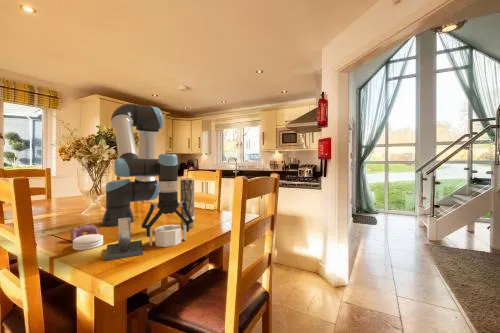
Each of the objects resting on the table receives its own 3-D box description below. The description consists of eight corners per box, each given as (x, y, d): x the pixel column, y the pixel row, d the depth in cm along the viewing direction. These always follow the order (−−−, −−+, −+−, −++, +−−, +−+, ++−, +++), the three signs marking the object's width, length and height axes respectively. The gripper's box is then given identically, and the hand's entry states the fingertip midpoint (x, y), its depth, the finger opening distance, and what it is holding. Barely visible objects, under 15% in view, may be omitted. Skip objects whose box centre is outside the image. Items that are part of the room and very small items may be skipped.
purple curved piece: (97, 239, 105) (96, 224, 107) (100, 237, 102) (98, 221, 104) (70, 245, 98) (69, 228, 100) (71, 242, 95) (70, 226, 97)
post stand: (107, 248, 90) (107, 216, 90) (141, 243, 95) (141, 213, 95) (104, 260, 79) (103, 224, 79) (142, 254, 85) (142, 220, 84)
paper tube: (190, 229, 116) (190, 179, 115) (178, 228, 117) (178, 178, 116) (196, 225, 122) (196, 178, 122) (184, 224, 124) (184, 177, 123)
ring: (154, 240, 99) (154, 226, 99) (178, 237, 104) (178, 223, 104) (156, 248, 91) (156, 233, 90) (182, 244, 95) (182, 229, 95)
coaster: (108, 241, 98) (108, 233, 98) (93, 251, 88) (93, 241, 88) (84, 241, 98) (84, 233, 98) (66, 251, 88) (66, 241, 88)
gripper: (134, 194, 88) (135, 250, 88) (200, 190, 99) (200, 240, 100) (134, 191, 94) (134, 243, 95) (195, 188, 106) (195, 235, 106)
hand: (168, 242), depth 97 cm, fingers open, 13 cm apart
